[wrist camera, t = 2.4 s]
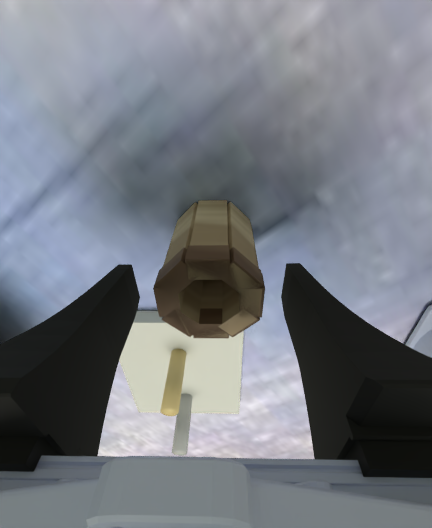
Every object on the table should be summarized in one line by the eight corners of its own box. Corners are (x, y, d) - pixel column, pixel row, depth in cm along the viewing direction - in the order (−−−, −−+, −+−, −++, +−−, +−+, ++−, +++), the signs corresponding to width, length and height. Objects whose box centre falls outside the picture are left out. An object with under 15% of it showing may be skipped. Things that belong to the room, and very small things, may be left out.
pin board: (243, 310, 20) (248, 382, 16) (238, 401, 28) (241, 468, 23) (110, 310, 21) (77, 380, 16) (141, 400, 28) (125, 465, 24)
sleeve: (253, 198, 15) (268, 258, 10) (249, 265, 18) (259, 338, 13) (171, 199, 15) (147, 259, 10) (180, 265, 18) (163, 338, 13)
